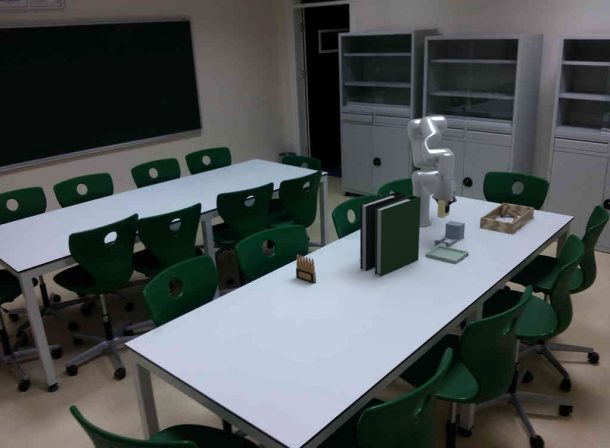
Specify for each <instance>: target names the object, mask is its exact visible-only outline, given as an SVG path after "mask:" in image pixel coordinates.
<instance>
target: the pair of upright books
mask: <svg viewBox="0 0 610 448" xmlns="http://www.w3.org/2000/svg"><path fill="white" fill-rule="evenodd" d="M420 203H421V197H418V196H413V194H412V195H409V196H406V193H403V192H399V191H394V192H392V193H389V194H387V195H384V196H380V197H378V198H375V199H372V200H370V201H367V202H364V203H360V204H359V207H360V208H359V226H360V227H359V231H360V232H359V233H360V234H359V236H360V237H359V240H360V241H359V243H360V245H359V246H360V247H359V249H360V250H359V252H360V253H359V255H360V258H359V261H360V263H359V264H360V266H359V267H360V270H363V269H365V272H368V271H370V270H372V269H374V275H375V276H376V275H377V274H380V278H381V277H384V276H386V275H388V274H391V273H393V272H395V271H398V270H399V269H403V268H405V267H406V266H409V265H410V264H413V263H415V262H418V261H419V258H420V257H419V256H420V255H419V253H420Z"/></svg>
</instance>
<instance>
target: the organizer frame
mask: <svg viewBox="0 0 610 448" xmlns="http://www.w3.org/2000/svg"><path fill="white" fill-rule="evenodd" d="M505 205H507V210H508V211H511V212H513V213H516V214H518V216H519V217H517V219H516V220H515V221H514V222H513V223H512V222H508V221H502V220H496V219H497V218H499V217H500V214H501V212H502V210H503V208H504V206H505ZM534 213H535V207H532V206H525V205H519V204H512V203H507V202H502V203H501V204H500V205H498V206H496V207H494V209H492V210H490V211H489V212H487V213H486V214H484V215H482V216H481V217H480V221H479V229H484V230H488V231H493V232H498V233H503V234H507V235H513V234H515V233H516V232H517V231H518V230H520V229H521V228H522V227H524V225H526V224H527V223H528V222H529V221H531V220H532V219H534Z"/></svg>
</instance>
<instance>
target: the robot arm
mask: <svg viewBox="0 0 610 448" xmlns="http://www.w3.org/2000/svg"><path fill="white" fill-rule="evenodd" d="M406 128H407V135H408V138H409V140H410V143H411V152H412V161H413V162H412V163H413V165H414V167H415V168H419V169H418V170H415V171H414V172H412V174H411V182H412V195H413V196H418V197H421V203H420V227H424V228H425V227H428V226H430V225H432V224H433V223H432V220H431V219H430V206H431V205H430V203H431V202H430V201H431V198H432V199H433V200H435V201H436V204H437V205H438V200H440V199H441V200H446V206H445V213H448V212H449V213H450V212H451V211H450V210H451V209H450V207H451V205H452V204H454V203H457V202H458V199H457V197H456V183H455V180H454V172H455V160H456V159H455V157H456V156H455V153H454V152H452V149H450V148H447V147H446V148H445V147H444V148H430V147H433V146H435V145H437V144H438V143H440V141H441V140H442V133H443V132H445V131H446V130H447V129H448V121H447V118H446V117H445V116H444V115H429V116H428V115H427V116H423V117H422V118H414V119H412V120H409V121H408V123H407V127H406ZM421 168H431V169H421ZM427 187H428V188H429V187H433V192H432V194H433V195H432V196H431V194H430V191H429V190H428V189H427Z"/></svg>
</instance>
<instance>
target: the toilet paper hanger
mask: <svg viewBox="0 0 610 448" xmlns="http://www.w3.org/2000/svg"><path fill="white" fill-rule="evenodd" d="M504 215H505V216H509V217H511V218H513V220H512V221H511V223H513V222H514V221H515V220H517V219H518V218H519V217H518V214H516V213H513V212H511V211H508V210H507V205H505V206H504V208H503V210H502V212H501V214H500V216H499V217H500V218H503V216H504Z"/></svg>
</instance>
